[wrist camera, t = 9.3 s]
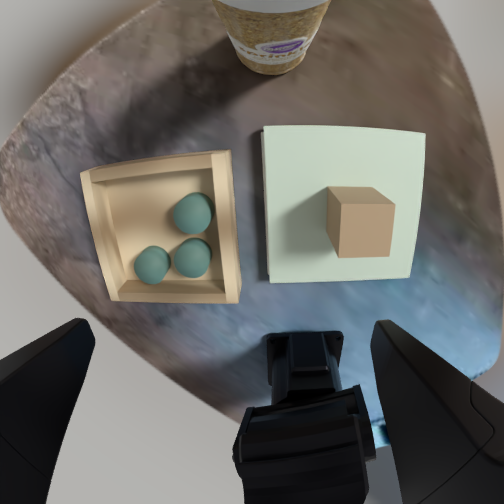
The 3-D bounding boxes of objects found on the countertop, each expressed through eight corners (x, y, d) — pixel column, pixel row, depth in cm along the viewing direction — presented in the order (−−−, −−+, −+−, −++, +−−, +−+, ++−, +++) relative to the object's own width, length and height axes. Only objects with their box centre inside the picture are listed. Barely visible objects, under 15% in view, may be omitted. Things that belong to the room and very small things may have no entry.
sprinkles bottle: (256, 87, 17) (225, 18, 4) (222, 33, 15) (143, -83, 3) (320, 59, 16) (406, -36, 3) (285, 4, 14) (301, -133, 2)
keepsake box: (241, 284, 23) (238, 303, 20) (123, 284, 23) (111, 300, 21) (230, 149, 18) (224, 153, 16) (98, 165, 19) (79, 172, 17)
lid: (405, 272, 21) (430, 307, 17) (269, 277, 22) (269, 317, 17) (420, 132, 17) (458, 139, 12) (263, 126, 17) (261, 127, 13)
